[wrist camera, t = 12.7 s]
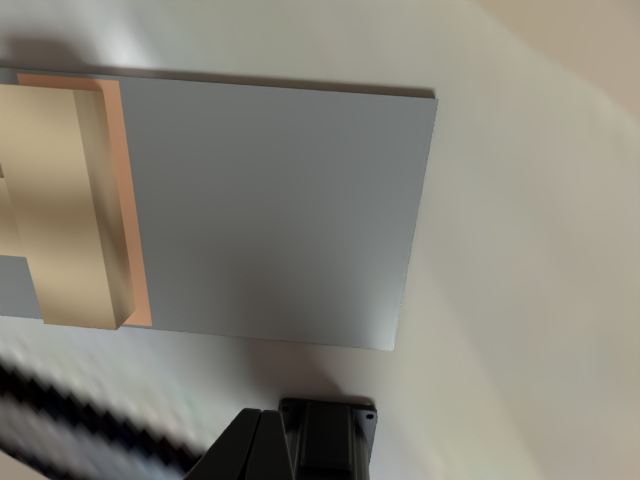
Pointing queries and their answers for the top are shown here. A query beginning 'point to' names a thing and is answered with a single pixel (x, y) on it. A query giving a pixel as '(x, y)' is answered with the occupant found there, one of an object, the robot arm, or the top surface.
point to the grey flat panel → (256, 206)
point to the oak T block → (64, 204)
